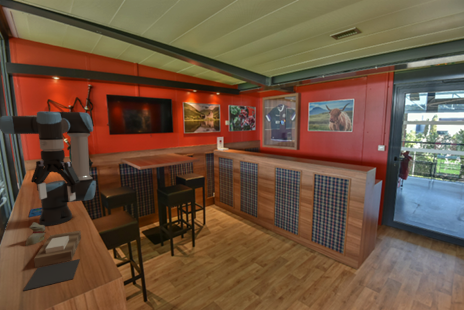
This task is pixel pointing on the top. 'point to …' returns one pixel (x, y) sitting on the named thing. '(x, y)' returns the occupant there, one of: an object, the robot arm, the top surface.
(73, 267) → the mat
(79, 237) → the brown wooden flat slab
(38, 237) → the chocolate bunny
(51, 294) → the top surface
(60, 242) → the block
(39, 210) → the handheld gaming device
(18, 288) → the top surface
